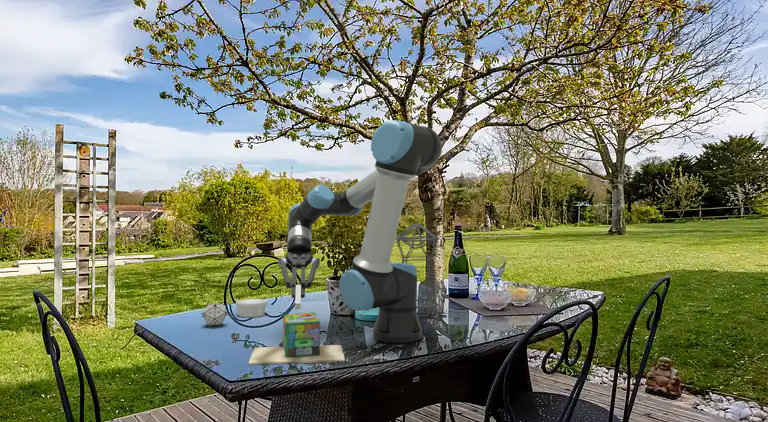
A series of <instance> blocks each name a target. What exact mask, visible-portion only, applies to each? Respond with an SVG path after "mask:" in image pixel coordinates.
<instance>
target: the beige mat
mask: <svg viewBox="0 0 768 422" xmlns="http://www.w3.org/2000/svg"><path fill="white" fill-rule="evenodd" d="M248 360H249V361H248V366H254V365H255V366H257V365H259V366H260V365H281V364H283V365H284V364H306V363H307V364H309V363H311V364H313V363H333V362H335V363H338V362H337V361H341V362H345V361H346V359H345V355H344V351H343V346H342V345H341V344H333V345H332V344H330V345H329V344H327V345H326V344H325V345H323V344H322V345H320V355H310V356H298V357H286V356H285V352H284V346H271V347H270V346H263V347H254V348H253V350H252V353H251V355H250V358H249V359H248Z"/></svg>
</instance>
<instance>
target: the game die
mask: <svg viewBox="0 0 768 422" xmlns="http://www.w3.org/2000/svg"><path fill="white" fill-rule="evenodd" d="M206 304H207V305H206V308H205V310H204V312H201V313H200V314H201V317H202V318H203V317H204V319H205V323H206V326H205V327H206V328H208V327H209V326H221V327H224V325H223V322H224V320H225V318H226V316H227V317H228V315H229V311H227V310H226V309H225V307H224V301H222V302H221V303H209V301H207V302H206Z"/></svg>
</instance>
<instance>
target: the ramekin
mask: <svg viewBox="0 0 768 422" xmlns="http://www.w3.org/2000/svg"><path fill="white" fill-rule="evenodd" d="M267 303H268V301H267V300H266V299H262V298H249V299H247V298H246V299H241V300H240V299H239V300H237V301H236V302H235V305H236V311H237V315H238V316H239V317H240V318H246V319H247V318H257V317H260V318H261V317H262V316H264V315H265V314H266V309H267Z"/></svg>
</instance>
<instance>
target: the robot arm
mask: <svg viewBox="0 0 768 422" xmlns="http://www.w3.org/2000/svg"><path fill="white" fill-rule="evenodd" d="M373 133H374V134H373V135H372V138H371V142H370V151H371V152H372V157H373V158H374V159H375V164H374V168H375V170H374V171H373V172H371V173H369V174H368V175H367V176H365V177H363V178H362V179H361V180H359V181H358V182H356V183H355V184H354V185H352V186H351V187H349V188H347V189H345V190H344V191H343V192H333V190H331V188H329V187H328V186H325V185H323V184H318V185H315V186H314V187H313V189H311V190H310V191H309V192H308V193H307V195H306V197H305V198H304V199H303V200H302V202H301V203H299V202H298V203H296V204H293V205H292V206H291V207H290V209H289V211H288V212H289V214H288V224H287V225H288V226H287V227H288V229H287V231H288V233H287V246H286V247H287V250H286V254H285V255H284V258H281V257H279V258H278V259H277V265H278V268H280V269H281V274H282V278H283V281H284V286H285V288H287V289H291V298H292V299H295V300H294V301H295V302H294V304H295V305H294V307H295V309H294V310H301V308H302V302H301V300H302V299H304V298H305V297H306V289H307V288H308V289H311V288H312V286H313V283H314V278H315V276H316V272H317V269H318V268H319V267H320V266H321V263H320V262H321V258H318V257H317V258H315V257H314V254H312V247H313V246H312V227H313V225H314V224H315V223H316V222H317V221H318V220H319V219H320V217H321V216H346V217H351V216H356V215H359V214H360V213H361V211H362V210H363V208H364V206H365V205H367V204H368V203H370V202H371V206H370V210H369V214H368V218H367V223H366V227H365V232H364V236H363V239H362V240H363V241H362V243H361V244H362V245H361V247H360V252H359V253H360V254H358V255H357V256H355V257H354V258H353V260H352V262H351V263H352V264H351V268H350V269H348V270H346V271H345V272H343V273H342V275H341V277H340V280H339V283H338V284H339V293H340V296H341V297H342V300H343V302H344V303H345V305H346V306H347V307H348V308H350V309H351V310H353V311H355V312H360V311H361V312H362V311H363V312H364V311H365V312H366V311H370V310H372V309H373V310H374V309H378V314H377V317H376V321H375V322H374V326H373V329H372V337H373V339H374V338H375V339H374V340H376V339H377V341H378V340H379V341H378V342H382V341H384V342H383V343H388V342H391V343H390V344H409V343H408V342H410V343H415V342H414V341H416V342H418V341H417V340H419V339H421V338H423V330H422V326H421V323H420V320H419V319H420V318H418V317H419V316H418V313H417V312H418V310H417V309H418V308H417V306H418V305H417V304H418V303H417V302H418V301H417V300H418V299H417V298H418V297H417V295H418V278H419V277H418V271H417V269H418V268H417V266H416V265H414V264H411V263H407V264H405V262H404V263H402V262H390V260H391V257H392V253H393V252H392V251H393V247H394V244H395V240H396V238H395V237H396V236H397V232H398V231H397V230H398V229H399V228H398V227H399V224H400V219H401V215H402V212H403V207H404V203H405V199H406V195H407V191H408V186H409V182H410V180H412V179H414V178H416V177H418V176H420V175H422V174H423V173H425V172H427V171H428V170H430V169H431V168H432V167H433V166H435V165H436V164H437V162H439V159H441V156H442V151H443V144H442V140H441V138H440V136H439V135H438V133H437V132H436V131H435V130H434V129H432V128H431V127H428V126H424V125H422V126H421V125H417V124H413V123H412V122H407V121H405V120H404V121H402V120H395V119H393V120H388V121H386V122H383V123H382V125H379V126H378V128H377V129H376V130H375V131H374V132H373ZM287 263H288V265H289V266H290V267H291V268H292V269H291V271H292V272H291V274H292V275H291V281H290V276H289V274H288V270H287V266H286V265H287ZM310 264H311V268H310V272H309V274H308V278H307V280H306V268H307V267H308V266H309V265H310ZM298 269H300V284H297V276H298V273H297V271H298ZM421 340H422V339H421ZM419 341H420V340H419Z"/></svg>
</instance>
